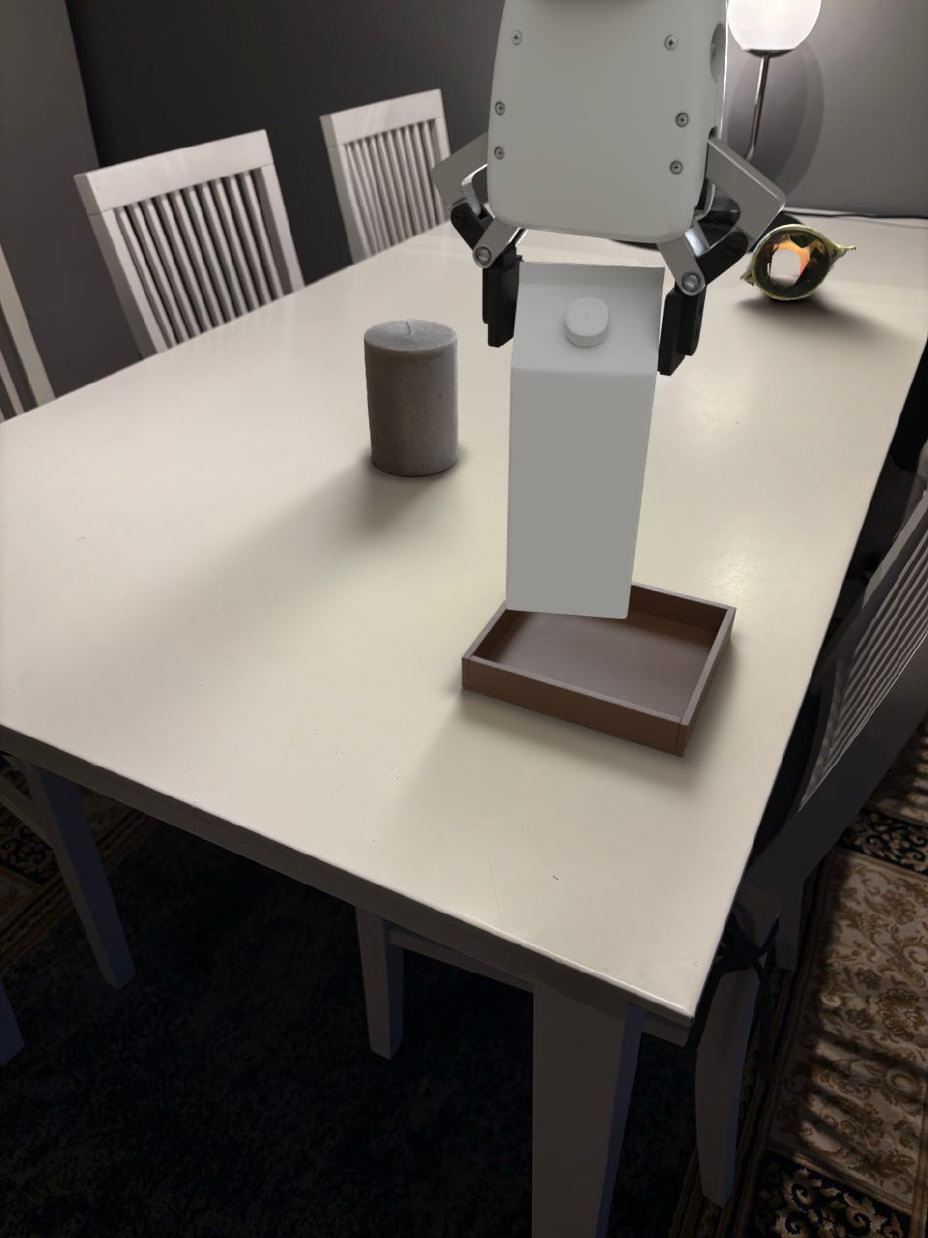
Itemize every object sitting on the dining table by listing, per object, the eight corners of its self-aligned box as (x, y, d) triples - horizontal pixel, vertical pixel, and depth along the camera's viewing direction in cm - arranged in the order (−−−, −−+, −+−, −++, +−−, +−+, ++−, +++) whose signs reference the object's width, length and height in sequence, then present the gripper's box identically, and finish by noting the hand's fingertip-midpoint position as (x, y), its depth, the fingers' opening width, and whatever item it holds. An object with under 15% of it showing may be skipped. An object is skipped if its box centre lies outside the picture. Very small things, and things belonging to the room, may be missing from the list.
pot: (838, 216, 149) (853, 202, 132) (848, 287, 152) (863, 282, 135) (730, 246, 154) (731, 237, 138) (741, 314, 157) (744, 313, 140)
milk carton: (517, 548, 59) (526, 242, 48) (627, 555, 58) (663, 246, 47) (505, 612, 54) (512, 283, 42) (626, 621, 53) (667, 289, 41)
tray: (730, 636, 75) (736, 607, 73) (682, 757, 64) (688, 726, 62) (535, 585, 81) (537, 556, 79) (461, 687, 70) (461, 657, 68)
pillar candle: (374, 480, 96) (365, 341, 87) (368, 440, 104) (359, 307, 95) (465, 473, 97) (465, 335, 88) (452, 434, 105) (451, 303, 96)
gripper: (852, -67, 37) (769, 354, 47) (464, -63, 43) (466, 308, 53) (823, -66, 31) (736, 408, 42) (384, -62, 37) (404, 350, 48)
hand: (585, 351), depth 47 cm, fingers closed on milk carton, 8 cm apart
